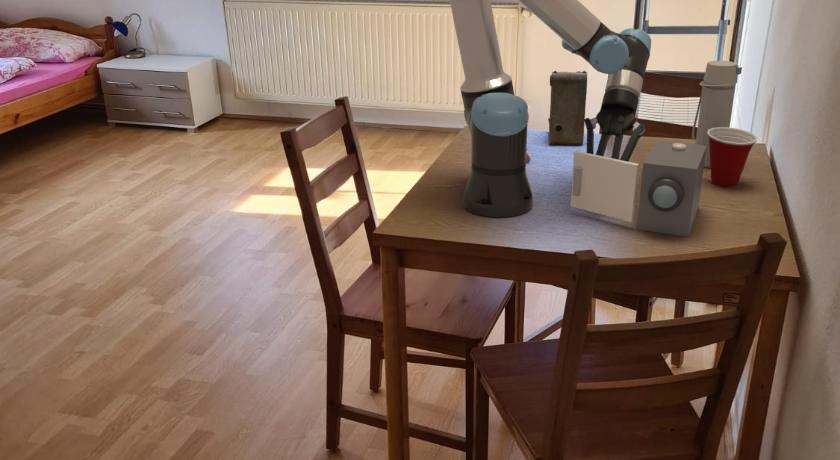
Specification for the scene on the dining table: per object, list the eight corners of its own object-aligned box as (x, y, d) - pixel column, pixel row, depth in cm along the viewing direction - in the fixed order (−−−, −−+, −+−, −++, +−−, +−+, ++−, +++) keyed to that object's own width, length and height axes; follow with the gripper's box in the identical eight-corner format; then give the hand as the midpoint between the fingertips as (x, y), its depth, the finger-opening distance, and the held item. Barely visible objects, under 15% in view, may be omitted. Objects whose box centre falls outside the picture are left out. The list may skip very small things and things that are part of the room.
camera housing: (686, 241, 151) (695, 169, 145) (632, 233, 155) (639, 162, 149) (698, 208, 166) (707, 142, 161) (648, 202, 170) (656, 137, 165)
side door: (633, 220, 157) (639, 164, 152) (629, 223, 156) (634, 166, 151) (573, 204, 166) (576, 150, 161) (568, 207, 164) (571, 153, 160)
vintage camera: (579, 132, 223) (582, 62, 215) (584, 146, 208) (588, 71, 201) (545, 132, 224) (547, 62, 216) (548, 146, 209) (550, 72, 202)
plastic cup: (730, 194, 174) (738, 143, 169) (690, 181, 182) (697, 132, 177) (760, 185, 179) (768, 134, 175) (720, 172, 188) (727, 124, 183)
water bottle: (730, 165, 193) (745, 63, 183) (710, 171, 189) (724, 68, 179) (699, 155, 200) (712, 57, 190) (679, 161, 196) (691, 61, 186)
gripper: (655, 108, 170) (633, 206, 163) (591, 101, 175) (568, 196, 168) (653, 89, 163) (631, 191, 156) (587, 84, 169) (563, 181, 162)
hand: (598, 193), depth 162 cm, fingers closed
